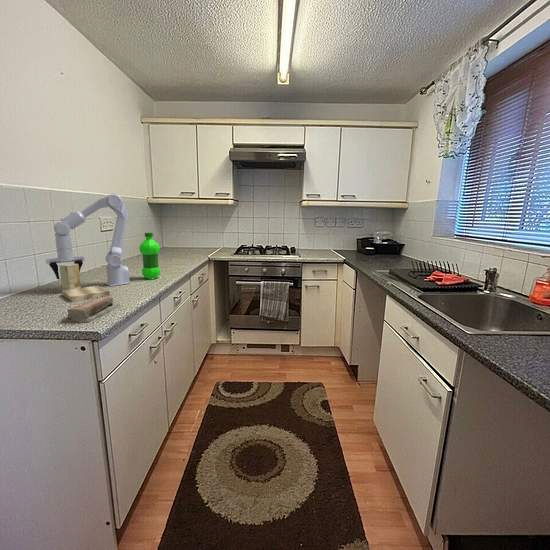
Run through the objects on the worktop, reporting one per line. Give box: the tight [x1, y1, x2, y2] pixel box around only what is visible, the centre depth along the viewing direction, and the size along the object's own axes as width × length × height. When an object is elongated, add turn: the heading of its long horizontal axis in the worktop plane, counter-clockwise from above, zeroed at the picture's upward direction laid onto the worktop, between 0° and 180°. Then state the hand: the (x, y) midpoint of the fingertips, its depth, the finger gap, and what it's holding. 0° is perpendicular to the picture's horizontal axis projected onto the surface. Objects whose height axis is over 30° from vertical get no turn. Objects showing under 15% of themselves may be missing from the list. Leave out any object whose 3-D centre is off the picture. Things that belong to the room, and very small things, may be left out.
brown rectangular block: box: [61, 295, 121, 323], centre depth 106 cm, size 18×5×10 cm
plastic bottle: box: [139, 232, 162, 280], centre depth 161 cm, size 10×10×25 cm
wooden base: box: [62, 285, 110, 303], centre depth 128 cm, size 14×14×2 cm
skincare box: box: [59, 263, 82, 291], centre depth 134 cm, size 6×4×12 cm
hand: (68, 277), depth 137 cm, fingers open, 7 cm apart
